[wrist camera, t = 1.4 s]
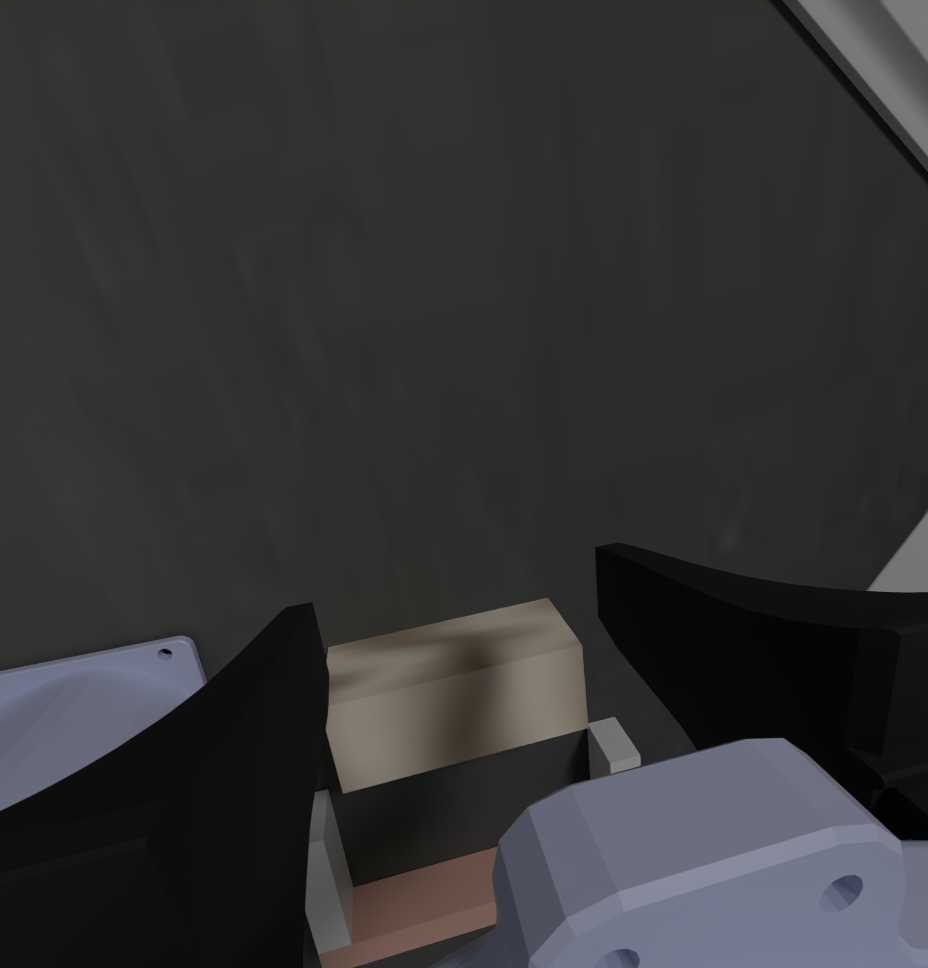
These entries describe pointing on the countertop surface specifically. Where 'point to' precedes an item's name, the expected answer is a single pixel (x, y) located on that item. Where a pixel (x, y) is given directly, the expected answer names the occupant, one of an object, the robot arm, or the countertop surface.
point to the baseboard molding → (879, 57)
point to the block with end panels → (414, 882)
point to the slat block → (452, 692)
